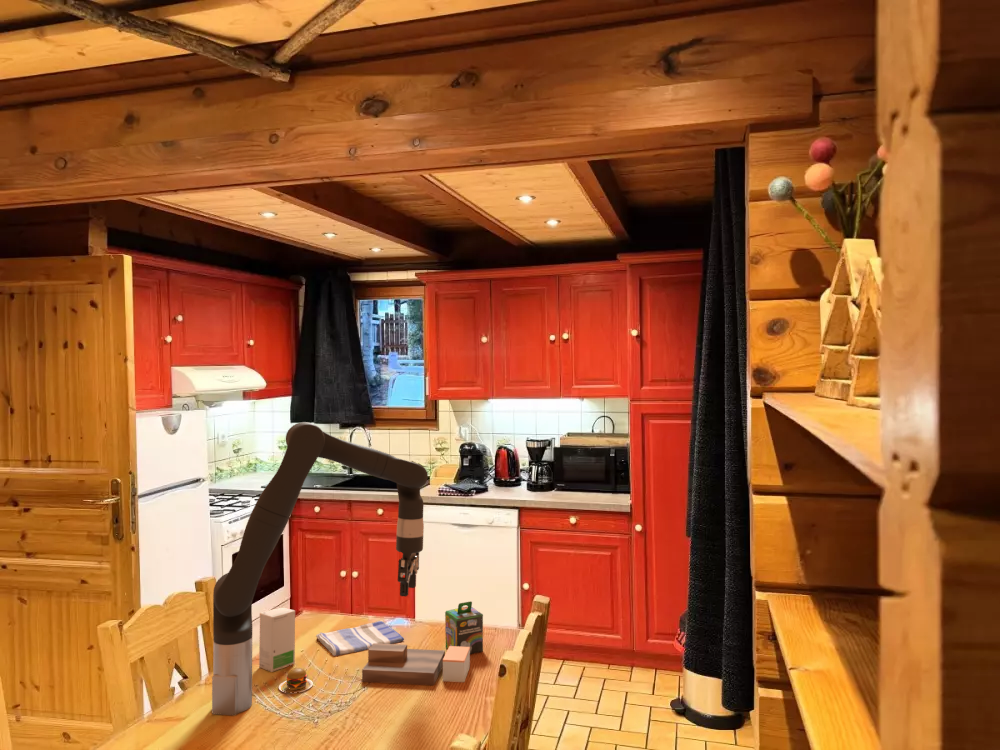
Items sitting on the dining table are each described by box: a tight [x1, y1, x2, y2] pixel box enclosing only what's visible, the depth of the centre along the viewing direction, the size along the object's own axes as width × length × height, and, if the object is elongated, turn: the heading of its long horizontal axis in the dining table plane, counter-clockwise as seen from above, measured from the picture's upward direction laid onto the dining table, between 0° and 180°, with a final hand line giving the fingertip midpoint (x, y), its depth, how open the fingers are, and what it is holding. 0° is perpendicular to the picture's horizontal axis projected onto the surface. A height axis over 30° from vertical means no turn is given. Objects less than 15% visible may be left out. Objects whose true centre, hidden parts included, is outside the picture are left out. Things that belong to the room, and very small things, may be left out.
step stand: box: [361, 643, 446, 686], centre depth 197 cm, size 16×20×7 cm
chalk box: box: [444, 601, 484, 655], centre depth 214 cm, size 9×9×15 cm
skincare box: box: [258, 607, 296, 673], centre depth 201 cm, size 8×7×16 cm
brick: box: [442, 646, 471, 683], centre depth 195 cm, size 10×6×6 cm, turn 174°
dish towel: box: [315, 620, 405, 657], centre depth 221 cm, size 17×24×3 cm
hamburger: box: [278, 667, 314, 694], centre depth 187 cm, size 12×12×6 cm
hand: (407, 591), depth 195 cm, fingers open, 8 cm apart
